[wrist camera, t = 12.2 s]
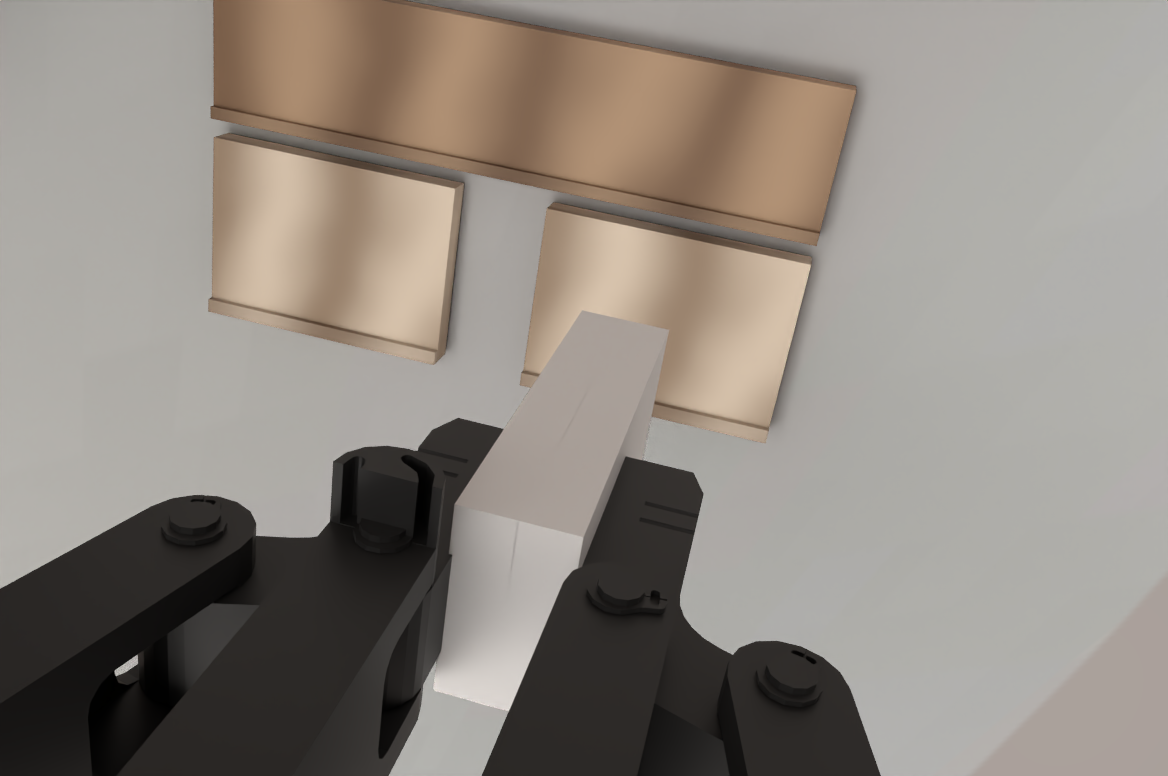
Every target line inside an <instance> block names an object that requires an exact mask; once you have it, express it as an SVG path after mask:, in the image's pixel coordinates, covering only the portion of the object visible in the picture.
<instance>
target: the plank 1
mask: <svg viewBox="0 0 1168 776" xmlns="http://www.w3.org/2000/svg"><path fill="white" fill-rule="evenodd" d="M463 189H464V183H461V182H456V181H452V180H447V179H442V178H437V177H433V176H428V175H423V174H419V173H414V172H409V171H404V170H400V169H395V168H390V167H386V166H381V165H376V164H371V163H367V162H362V161H357V160H353V159H348V158H343V157H339V156H334V155H329V154H324V153H320V152H315V151H310V150H306V149H301V148H296V147H291V146H287V145H282V144H277V143H273V142H268V141H263V140H259V139H254V138H249V137H244V136H240V135H235V134H230V133H227V134H223V135H220V136H217V137H214V169H213V256H212V298H210V299H209V303H208V311H209V312H213V313H217V314H222V315H226V316H230V317H234V318H238V319H243V320H247V321H251V322H255V323H259V324H264V325H268V326H272V327H276V328H281V329H285V330H289V331H293V332H297V333H302V334H306V335H310V336H314V337H318V338H323V339H327V340H331V341H335V342H339V343H344V344H348V345H352V346H356V347H360V348H365V349H369V350H373V351H377V352H381V353H386V354H390V355H394V356H398V357H402V358H407V359H411V360H415V361H419V362H424V363H428V364H432V365H434V364H435V363H436V362H437V361H438V360H439V359H440V358H441V357H442V356H443V355H444V354H445V350H446V341H447V332H448V323H449V314H450V305H451V296H452V287H453V278H454V270H455V261H456V252H457V243H458V234H459V225H460V216H461V207H462V198H463Z"/></svg>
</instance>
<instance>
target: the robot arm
mask: <svg viewBox="0 0 1168 776" xmlns="http://www.w3.org/2000/svg"><path fill="white" fill-rule="evenodd" d="M668 333H669V330H667V329H663V328H659V327H654V326H650V325H645V324H641V323H636V322H632V321H628V320H623V319H619V318H614V317H610V316H605V315H601V314H597V313H592V312H588V311H583V310H582V311H581V313H580V314H579V316H578V317H577V319H576V320H575V322H574V323H573V325H572V326H571V328H570V330H569V331H568V333H567V334H566V336H565V337H564V339H563V340H562V342H561V343H560V345H559V346H558V348H557V349H556V351H555V352H554V354H553V355H552V357H551V358H550V360H549V361H548V363H547V364H546V366H545V368H544V369H543V371H542V372H541V374H540V375H539V377H538V378H537V380H536V381H535V383H534V384H533V386H532V387H531V389H530V390H529V392H528V393H527V395H526V396H525V398H524V399H523V401H522V402H521V404H520V405H519V407H518V409H517V410H516V412H515V413H514V415H513V416H512V418H511V419H510V421H509V422H508V424H507V425H506V427H505V428H504V429H501V428H497V427H493V426H489V425H485V424H481V423H477V422H472V421H468V420H464V419H460V418H457V419H455V420H453V421H451V422H448V423H446V424H444V425H442V426H440V427H438V428H436V429H433V430H432V431H431V432H430V434H429V435H428V436H427V437H426V439H425V440H424V441H423V442H422V444H421V445H420V446H419V448H418V451H413V450H410V449H405V448H398V447H391V446H377V447H364V448H361V449H357V450H354V451H350V452H347V453H345V454H344V455H342V456H341V457H339V458H338V459H336V460H335V461H333V478H332V496H331V514H330V522H329V523H328V525H327V526H326V527H325V528H324V529H323V531H322V532H321V533H320V534H319V535H318V537H311V538H286V537H266V536H256V522H255V520H254V518H253V516H252V514H251V512H250V511H249V510H248V509H246V508H245V507H243V506H242V505H240V504H239V503H237V502H235V501H231V500H228V499H224V498H221V497H218V496H204V495H193V496H186V497H179V498H172V499H169V500H167V501H164V502H162V503H159V504H156V505H154V506H151V507H149V508H148V509H146V510H144V511H142V512H140V513H138V514H137V515H135V516H133V517H131V518H129V519H127V520H126V521H124V522H122V523H120V524H118V525H116V526H115V527H113V528H111V529H109V530H107V531H105V532H104V533H102V534H100V535H98V536H96V537H94V538H93V539H91V540H89V541H87V542H85V543H83V544H82V545H80V546H78V547H76V548H74V549H73V550H71V551H69V552H67V553H65V554H63V555H62V556H60V557H58V558H56V559H54V560H52V561H51V562H49V563H47V564H45V565H43V566H41V567H40V568H38V569H36V570H34V571H32V572H30V573H29V574H27V575H25V576H23V577H21V578H19V579H18V580H16V581H14V582H12V583H10V584H8V585H7V586H5V587H3V588H1V589H0V776H389V774H390V772H391V770H392V768H393V766H394V764H395V762H396V760H397V758H398V756H399V755H400V753H401V751H402V749H403V747H404V745H405V743H406V741H407V739H408V737H409V735H410V733H411V732H412V730H413V728H414V726H415V724H416V722H417V720H418V716H419V712H420V707H421V700H422V691H423V683H424V682H425V680H426V678H427V676H428V674H429V672H430V670H431V669H432V667H433V665H434V663H435V661H436V659H437V661H436V669H435V678H434V687H433V690H434V691H437V692H441V693H445V694H448V695H452V696H455V697H459V698H462V699H466V700H469V701H473V702H476V703H480V704H484V705H487V706H491V707H494V708H498V709H501V710H505V711H508V715H507V717H506V719H505V722H504V724H503V727H502V729H501V731H500V734H499V736H498V738H497V741H496V743H495V746H494V748H493V750H492V753H491V755H490V757H489V760H488V762H487V765H486V767H485V769H484V772H483V774H482V776H881V775H880V772H879V770H878V767H877V764H876V761H875V758H874V755H873V753H872V750H871V747H870V744H869V741H868V738H867V735H866V733H865V730H864V727H863V724H862V721H861V718H860V716H859V713H858V710H857V707H856V704H855V701H854V699H853V696H852V693H851V690H850V688H849V686H848V685H847V683H846V681H845V680H844V678H843V676H842V675H841V673H840V672H839V671H838V670H837V669H836V668H834V667H833V666H832V665H831V664H830V663H829V662H827V661H826V660H825V659H824V658H823V657H821V656H819V655H817V654H815V653H813V652H811V651H809V650H807V649H805V648H803V647H801V646H796V645H792V644H788V643H784V642H780V641H758V642H754V643H751V644H748V645H746V646H743V647H741V648H739V649H738V650H737V651H736V652H735V653H734V655H732V654H730V653H728V652H726V651H724V650H722V649H720V648H718V647H717V646H715V645H713V644H712V643H710V642H709V641H707V640H705V639H704V638H703V637H702V636H700V635H699V634H698V633H697V632H696V631H695V630H694V629H693V628H692V627H691V626H690V624H689V623H688V622H687V620H686V619H685V617H684V616H683V613H682V610H681V607H680V592H681V588H682V584H683V580H684V575H685V571H686V567H687V562H688V558H689V554H690V550H691V545H692V541H693V537H694V532H695V528H696V524H697V520H698V515H699V511H700V507H701V503H702V498H703V492H702V490H701V488H700V486H699V484H698V482H697V479H696V477H695V475H694V473H692V472H688V471H684V470H680V469H676V468H672V467H668V466H663V465H659V464H655V463H651V462H647V461H643V456H644V451H645V446H646V441H647V436H648V431H649V426H650V421H651V416H652V411H653V406H654V402H655V397H656V392H657V387H658V382H659V377H660V372H661V367H662V362H663V357H664V352H665V347H666V343H667V338H668ZM137 654H138V664H137V665H136V666H134V667H133V668H132V669H130V670H129V671H127V672H125V673H123V674H121V675H119V676H115V672H114V670H116V669H117V668H118V667H120V666H121V665H123V664H124V663H126V662H127V661H129V660H130V659H132V658H133V657H134V656H136V655H137Z"/></svg>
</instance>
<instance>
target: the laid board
mask: <svg viewBox="0 0 1168 776" xmlns="http://www.w3.org/2000/svg"><path fill="white" fill-rule="evenodd" d="M213 7H214V106H211V118H212V119H217V120H221V121H226V122H231V123H236V124H240V125H245V126H250V127H255V128H259V129H264V130H269V131H274V132H278V133H283V134H288V135H293V136H297V137H302V138H307V139H312V140H316V141H321V142H326V143H330V144H335V145H340V146H345V147H349V148H354V149H359V150H364V151H368V152H373V153H378V154H383V155H387V156H392V157H397V158H402V159H406V160H411V161H416V162H421V163H425V164H430V165H435V166H440V167H444V168H449V169H454V170H458V171H463V172H468V173H473V174H477V175H482V176H487V177H492V178H496V179H501V180H506V181H511V182H515V183H520V184H525V185H530V186H534V187H539V188H544V189H549V190H553V191H558V192H563V193H568V194H572V195H577V196H582V197H586V198H591V199H596V200H601V201H605V202H610V203H615V204H620V205H624V206H629V207H634V208H639V209H643V210H648V211H653V212H658V213H662V214H667V215H672V216H677V217H681V218H686V219H691V220H696V221H700V222H705V223H710V224H714V225H719V226H724V227H729V228H733V229H738V230H743V231H748V232H752V233H757V234H762V235H767V236H771V237H776V238H781V239H786V240H790V241H795V242H800V243H805V244H809V245H814V246H817V242H818V238H819V234H820V229H821V225H822V221H823V218H824V214H825V210H826V206H827V202H828V198H829V195H830V191H831V187H832V183H833V179H834V175H835V171H836V168H837V164H838V160H839V156H840V152H841V148H842V145H843V141H844V137H845V133H846V129H847V125H848V122H849V118H850V114H851V110H852V106H853V102H854V98H855V95H856V86H853V85H848V84H843V83H838V82H832V81H827V80H822V79H816V78H811V77H806V76H801V75H795V74H790V73H785V72H780V71H774V70H769V69H764V68H758V67H753V66H748V65H743V64H737V63H732V62H727V61H721V60H716V59H711V58H706V57H700V56H695V55H690V54H685V53H679V52H674V51H669V50H663V49H658V48H653V47H648V46H642V45H637V44H632V43H627V42H621V41H616V40H611V39H605V38H600V37H595V36H590V35H584V34H579V33H574V32H568V31H563V30H558V29H553V28H547V27H542V26H537V25H532V24H526V23H521V22H516V21H510V20H505V19H500V18H495V17H489V16H484V15H479V14H474V13H468V12H463V11H458V10H452V9H447V8H442V7H437V6H431V5H426V4H421V3H415V2H410V1H405V0H213Z"/></svg>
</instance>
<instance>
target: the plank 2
mask: <svg viewBox="0 0 1168 776" xmlns="http://www.w3.org/2000/svg"><path fill="white" fill-rule="evenodd" d="M811 259H812V257H809V256H804V255H800V254H795V253H790V252H786V251H781V250H776V249H771V248H767V247H762V246H757V245H753V244H748V243H743V242H739V241H734V240H729V239H724V238H720V237H715V236H710V235H706V234H701V233H696V232H691V231H687V230H682V229H677V228H673V227H668V226H663V225H659V224H654V223H649V222H644V221H640V220H635V219H630V218H626V217H621V216H616V215H611V214H607V213H602V212H597V211H593V210H588V209H583V208H579V207H574V206H569V205H564V204H560V203H555V202H553V203H552V204H551V205H550V206H549V207H548V208H547V211H546V218H545V225H544V231H543V238H542V245H541V252H540V259H539V266H538V273H537V280H536V287H535V294H534V300H533V307H532V314H531V321H530V328H529V335H528V342H527V349H526V356H525V363H524V369H523V372H522V373H521V380H520V385H521V386H526V387H530V388H531V387H532V386H533V384H534V383H535V381H536V380H537V378H538V377H539V375H540V374H541V372H542V371H543V369H544V368H545V366H546V364H547V363H548V361H549V360H550V358H551V357H552V355H553V354H554V352H555V351H556V349H557V348H558V346H559V345H560V343H561V342H562V340H563V339H564V337H565V336H566V334H567V333H568V331H569V330H570V328H571V326H572V325H573V323H574V322H575V320H576V319H577V317H578V316H579V314H580V313H581V311H582V310H583V311H588V312H592V313H597V314H601V315H605V316H610V317H614V318H619V319H623V320H628V321H632V322H636V323H641V324H645V325H650V326H654V327H659V328H663V329H667V330H669V333H668V338H667V343H666V347H665V352H664V357H663V362H662V367H661V372H660V377H659V382H658V387H657V392H656V397H655V402H654V406H653V411H652V417H656V418H660V419H664V420H669V421H673V422H677V423H681V424H685V425H690V426H694V427H698V428H702V429H707V430H711V431H715V432H719V433H723V434H728V435H732V436H736V437H740V438H744V439H749V440H753V441H757V442H761V443H766V439H767V435H768V431H769V426H770V422H771V418H772V414H773V410H774V406H775V403H776V399H777V395H778V391H779V387H780V383H781V379H782V376H783V372H784V368H785V364H786V360H787V356H788V352H789V349H790V345H791V341H792V337H793V333H794V329H795V325H796V322H797V318H798V314H799V310H800V306H801V302H802V298H803V295H804V291H805V287H806V283H807V279H808V275H809V271H810V268H811Z"/></svg>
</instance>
